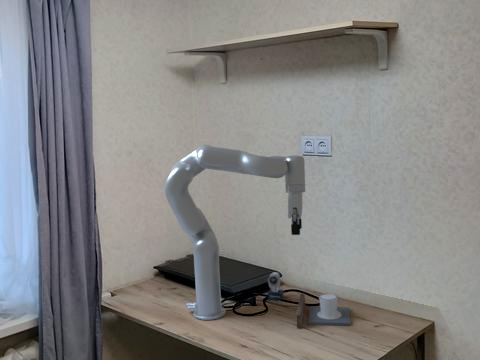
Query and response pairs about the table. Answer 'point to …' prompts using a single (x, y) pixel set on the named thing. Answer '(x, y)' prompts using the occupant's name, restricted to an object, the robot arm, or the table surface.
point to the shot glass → (328, 305)
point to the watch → (275, 287)
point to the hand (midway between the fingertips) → (296, 231)
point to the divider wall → (300, 310)
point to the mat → (339, 320)
